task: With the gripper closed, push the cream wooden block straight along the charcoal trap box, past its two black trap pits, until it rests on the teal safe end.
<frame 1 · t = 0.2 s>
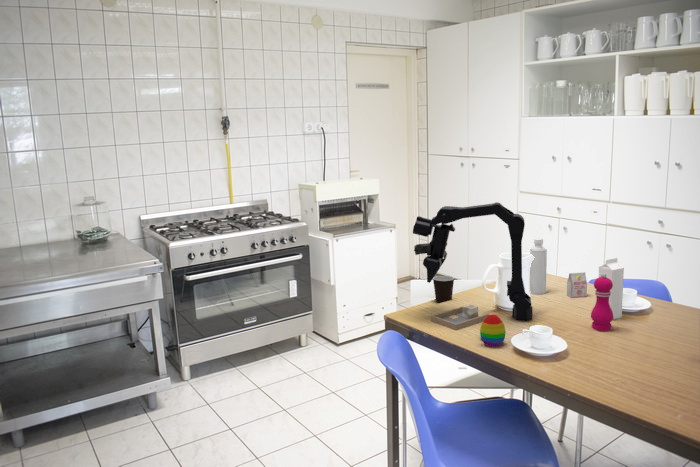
hand: (430, 279, 217), 15 cm above the table, tool pointing down, fingers open, 9 cm apart
printed paper bag: (576, 296, 239), on the table
coffee mug: (445, 301, 240), on the table
decorative egg: (492, 344, 192), on the table
trap box: (459, 324, 211), on the table
pepper mill: (601, 328, 201), on the table
milk: (609, 317, 212), on the table
block: (470, 317, 214), point 1 cm above the table, touching trap box
grey bottle: (537, 292, 246), on the table
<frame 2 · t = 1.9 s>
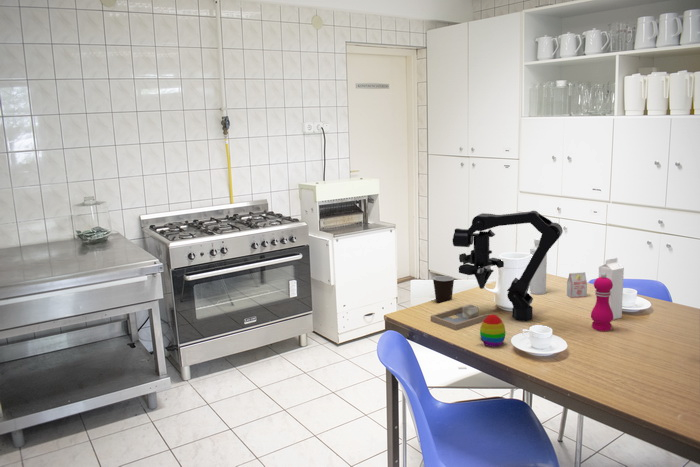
hand: (481, 288, 216), 11 cm above the table, tool pointing down, fingers closed
nothing on the table moved.
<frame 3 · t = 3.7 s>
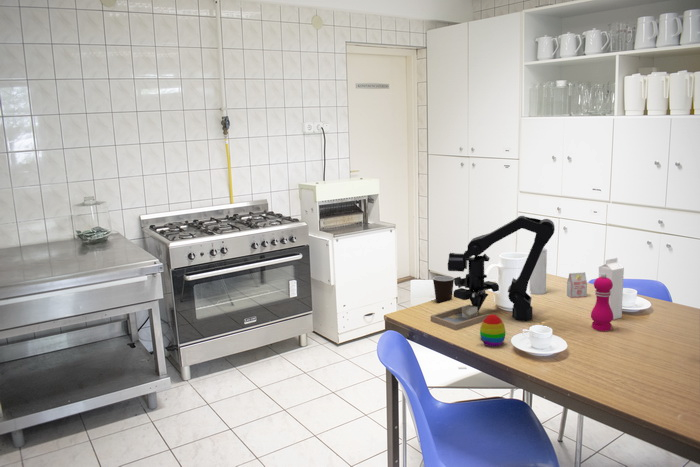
hand: (476, 312, 216), 3 cm above the table, tool pointing down, fingers closed
block: (469, 317, 214), point 2 cm above the table, touching gripper
everything else where it was.
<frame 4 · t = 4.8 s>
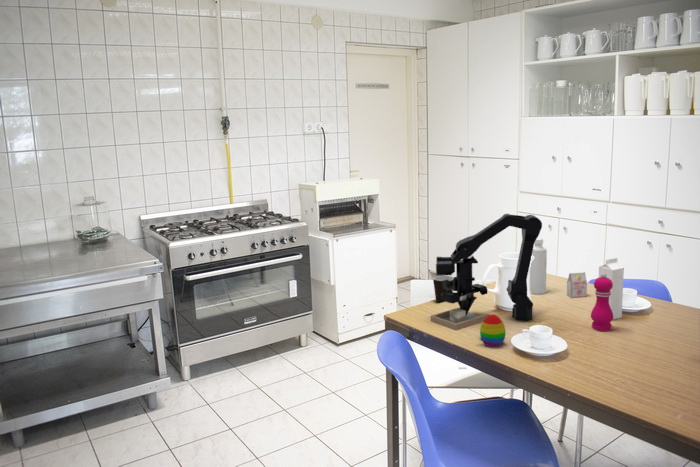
hand: (464, 315, 212), 3 cm above the table, tool pointing down, fingers closed
block: (457, 320, 210), point 2 cm above the table, touching gripper, trap box
everything else where it was.
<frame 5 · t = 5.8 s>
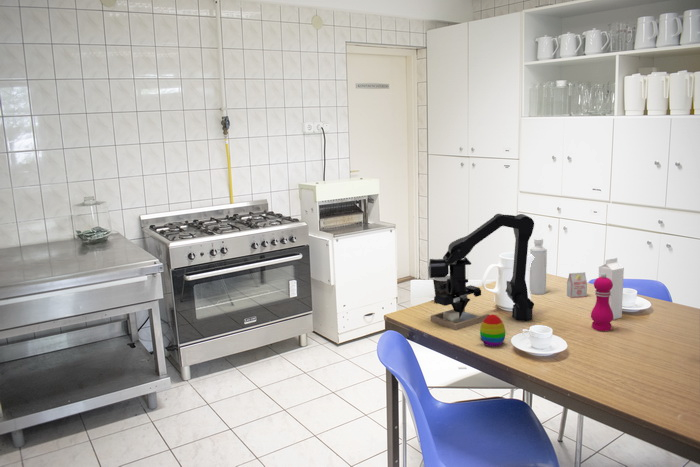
hand: (458, 317, 210), 3 cm above the table, tool pointing down, fingers closed
block: (451, 322, 208), point 2 cm above the table, touching gripper, trap box
everything else where it was.
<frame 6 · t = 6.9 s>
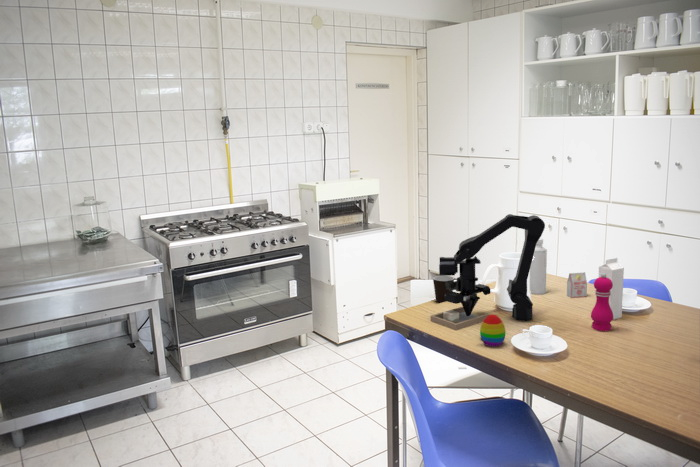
hand: (468, 315, 213), 2 cm above the table, tool pointing down, fingers closed
block: (451, 322, 208), point 1 cm above the table, touching trap box
everything else where it was.
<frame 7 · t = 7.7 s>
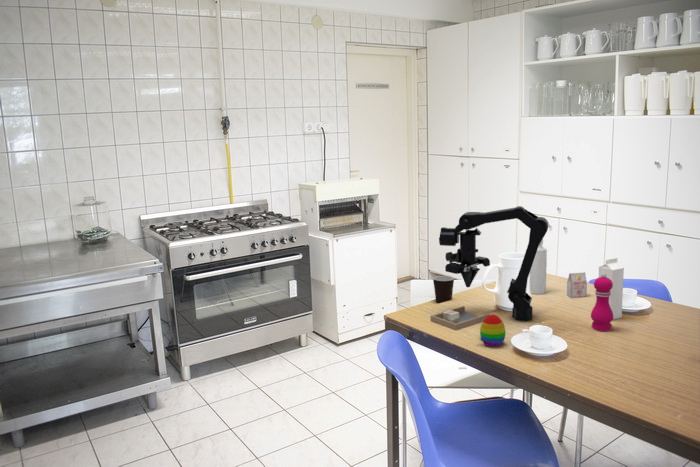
hand: (467, 287, 216), 12 cm above the table, tool pointing down, fingers closed
nothing on the table moved.
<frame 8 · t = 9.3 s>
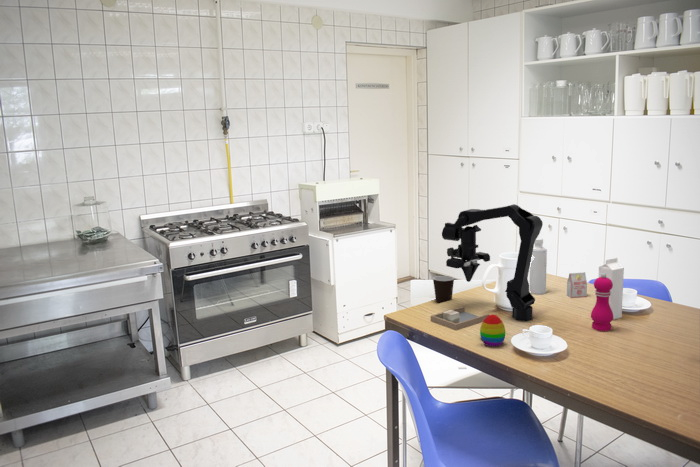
hand: (468, 281, 223), 12 cm above the table, tool pointing down, fingers closed
nothing on the table moved.
at the end: block 0.4 cm from the target spot on the trap box, point 1.5 cm above the trap box's base; block tilted 0°; block moved 9.9 cm from its start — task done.
